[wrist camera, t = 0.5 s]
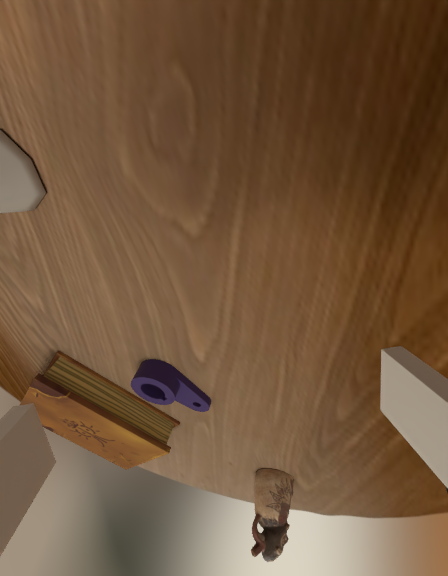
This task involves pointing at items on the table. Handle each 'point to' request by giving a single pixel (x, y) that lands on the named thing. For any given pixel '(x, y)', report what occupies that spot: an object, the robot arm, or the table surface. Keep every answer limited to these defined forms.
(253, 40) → the table surface
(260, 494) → the figurine
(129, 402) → the diary
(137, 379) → the lever
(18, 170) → the flask
